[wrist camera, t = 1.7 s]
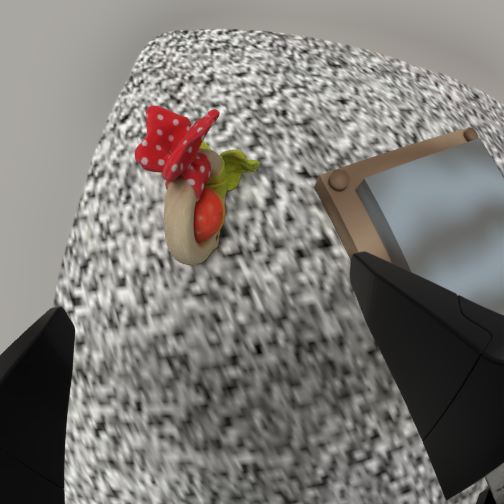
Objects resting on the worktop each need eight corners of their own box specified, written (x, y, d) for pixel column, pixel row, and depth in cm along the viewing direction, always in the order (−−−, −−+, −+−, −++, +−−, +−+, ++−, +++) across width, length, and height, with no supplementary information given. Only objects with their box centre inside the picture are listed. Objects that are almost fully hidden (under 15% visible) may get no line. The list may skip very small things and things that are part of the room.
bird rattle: (252, 253, 25) (262, 137, 23) (242, 299, 14) (261, 92, 12) (175, 246, 25) (183, 133, 23) (113, 283, 14) (125, 93, 12)
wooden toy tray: (531, 294, 22) (557, 288, 18) (406, 397, 20) (432, 407, 16) (459, 137, 26) (478, 117, 22) (314, 186, 24) (325, 161, 20)
